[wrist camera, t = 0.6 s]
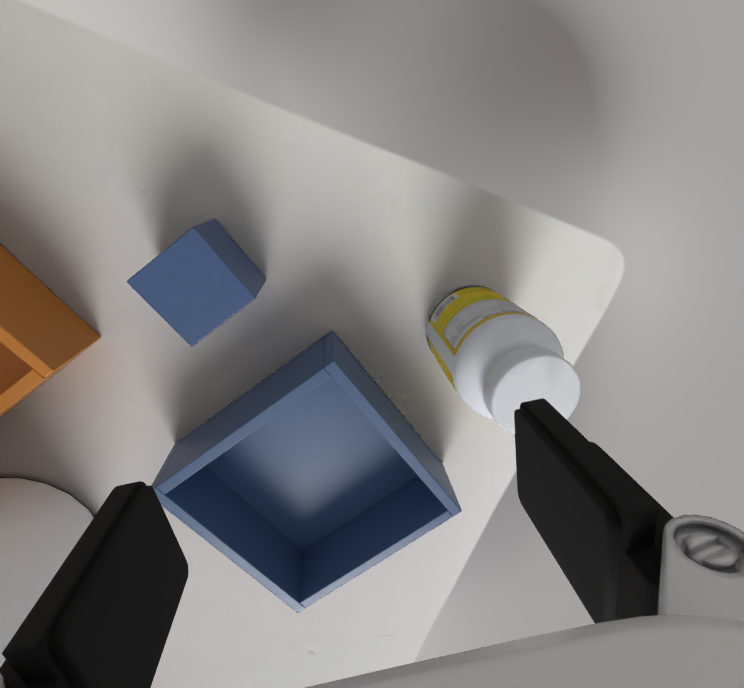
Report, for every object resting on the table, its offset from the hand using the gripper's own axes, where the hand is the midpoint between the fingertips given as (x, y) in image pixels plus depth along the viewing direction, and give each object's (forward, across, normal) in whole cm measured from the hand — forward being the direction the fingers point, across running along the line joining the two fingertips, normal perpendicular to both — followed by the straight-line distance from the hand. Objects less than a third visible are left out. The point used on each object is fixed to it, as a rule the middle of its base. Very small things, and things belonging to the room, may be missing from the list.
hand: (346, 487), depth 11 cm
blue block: (+21, +8, -3) cm, 22 cm away
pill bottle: (+21, -10, +4) cm, 23 cm away
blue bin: (+21, +4, +13) cm, 25 cm away
